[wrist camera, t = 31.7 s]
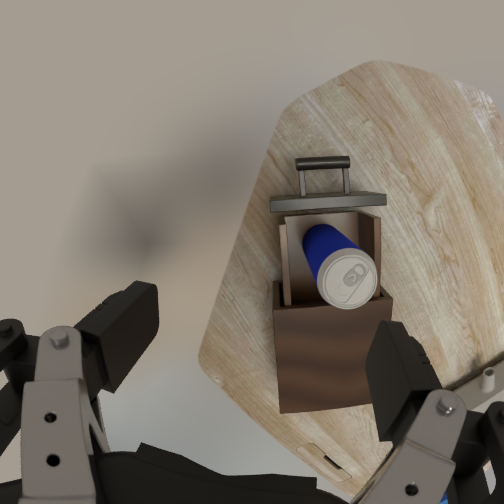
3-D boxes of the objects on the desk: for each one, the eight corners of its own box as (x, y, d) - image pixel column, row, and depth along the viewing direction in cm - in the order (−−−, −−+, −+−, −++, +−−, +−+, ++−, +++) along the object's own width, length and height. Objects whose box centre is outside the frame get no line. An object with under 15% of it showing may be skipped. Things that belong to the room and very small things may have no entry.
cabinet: (273, 281, 41) (272, 310, 31) (369, 272, 39) (393, 298, 30) (279, 372, 44) (279, 413, 35) (363, 364, 43) (379, 402, 34)
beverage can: (322, 271, 38) (349, 324, 23) (293, 245, 37) (305, 286, 23) (349, 241, 37) (392, 278, 22) (320, 214, 36) (350, 237, 22)
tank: (516, 326, 40) (551, 354, 28) (509, 380, 43) (535, 409, 31) (419, 383, 43) (445, 428, 31) (422, 431, 46) (440, 471, 34)
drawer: (267, 163, 36) (265, 158, 29) (362, 158, 35) (383, 153, 27) (279, 304, 40) (279, 331, 33) (366, 296, 39) (384, 320, 32)
